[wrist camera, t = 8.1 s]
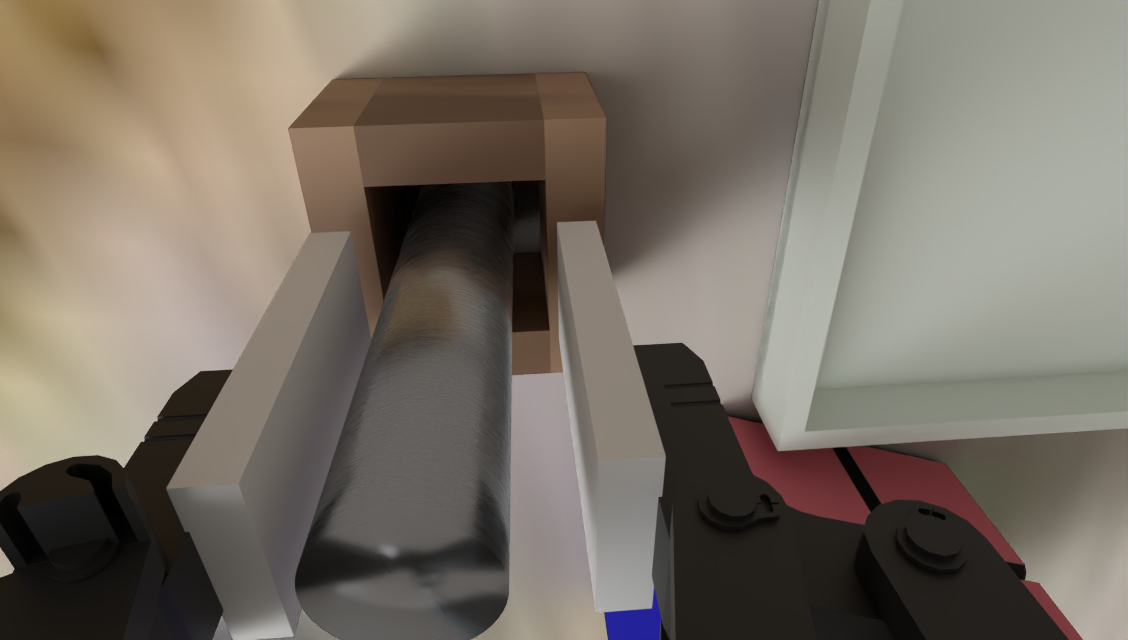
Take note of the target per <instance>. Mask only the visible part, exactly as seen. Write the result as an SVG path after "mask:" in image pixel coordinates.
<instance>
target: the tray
mask: <svg viewBox="0 0 1128 640" xmlns="http://www.w3.org/2000/svg"><path fill="white" fill-rule="evenodd" d="M751 399H752V401H753V403H754V405H755V407H756V409H757V411H758V413H759V415H760V417H761V419H762V421H763V423H764V425H765V427H766V429H767V431H768V433H769V435H770V437H771V439H772V441H773V443H774V445H775V447H776V449H777V451H788V450H804V449H819V448H834V447H850V446H865V445H880V444H896V443H911V442H926V441H942V440H957V439H973V438H988V437H1003V436H1019V435H1034V434H1049V433H1065V432H1080V431H1095V430H1111V429H1126V428H1128V0H819V3H818V9H817V15H816V21H815V26H814V32H813V38H812V44H811V50H810V56H809V62H808V68H807V74H806V80H805V85H804V91H803V97H802V103H801V109H800V115H799V121H798V127H797V133H796V138H795V144H794V150H793V156H792V162H791V168H790V174H789V180H788V186H787V191H786V197H785V203H784V209H783V215H782V221H781V227H780V233H779V239H778V244H777V250H776V256H775V262H774V268H773V274H772V280H771V286H770V292H769V298H768V303H767V309H766V315H765V321H764V327H763V333H762V339H761V345H760V351H759V356H758V362H757V368H756V374H755V380H754V386H753V392H752V398H751Z"/></svg>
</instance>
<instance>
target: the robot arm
mask: <svg viewBox="0 0 1128 640" xmlns="http://www.w3.org/2000/svg"><path fill="white" fill-rule="evenodd" d="M557 255H558V310H559V344H560V351H561V358H562V366H563V373H564V381H565V388H566V396H567V403H568V411H569V418H570V426H571V433H572V441H573V448H574V456H575V463H576V471H577V478H578V486H579V493H580V500H581V508H582V515H583V523H584V530H585V538H586V545H587V553H588V560H589V568H590V575H591V583H592V590H593V598H594V605H595V613H600V612H613V611H625V610H638V609H651V608H652V603H653V592H654V588H655V593H656V597H657V602H658V606H659V611H660V615H661V623H660V632H659V640H1069V639H1068V638H1067V637H1066V635H1065V634H1064V633H1063V632H1062V631H1061V629H1060V628H1059V627H1058V626H1057V624H1056V623H1055V622H1054V621H1053V619H1052V618H1051V617H1050V616H1049V615H1048V613H1047V612H1046V611H1045V610H1044V608H1043V607H1042V606H1041V605H1040V603H1039V602H1038V601H1037V600H1036V598H1035V597H1034V596H1033V595H1032V594H1031V592H1030V591H1029V590H1028V589H1027V587H1026V586H1025V585H1024V584H1023V582H1022V581H1021V580H1020V579H1019V577H1018V576H1017V575H1016V574H1015V573H1014V571H1013V570H1012V569H1011V568H1010V566H1009V565H1008V564H1007V563H1006V561H1005V560H1004V559H1003V558H1002V557H1001V555H1000V554H999V553H998V552H997V550H996V549H995V548H994V547H993V545H992V544H991V543H990V542H989V540H988V539H987V538H986V537H985V536H984V535H983V534H981V533H980V532H979V531H978V530H977V529H976V528H975V527H974V526H973V525H972V524H971V523H970V522H969V521H967V520H965V519H964V518H962V517H960V516H958V515H956V514H955V513H953V512H951V511H949V510H948V509H946V508H943V507H940V506H937V505H934V504H930V503H927V502H924V501H920V500H900V499H897V500H893V501H890V502H886V503H883V504H880V505H878V506H877V507H876V508H875V509H874V510H873V511H872V512H871V513H870V514H869V515H868V516H867V518H866V521H865V524H864V525H863V524H857V523H852V522H847V521H842V520H836V519H831V518H826V517H820V516H816V515H813V514H809V513H805V512H802V511H799V510H797V509H795V508H792V507H790V506H788V505H786V503H785V501H784V499H783V497H782V496H781V495H780V494H779V493H778V492H777V491H776V490H775V489H774V488H773V487H772V486H771V485H770V484H769V483H768V482H766V481H764V480H763V479H761V478H759V477H757V476H755V475H754V474H753V473H752V471H751V469H750V467H749V464H748V462H747V460H746V457H745V455H744V453H743V451H742V448H741V446H740V444H739V441H738V439H737V437H736V435H735V432H734V430H733V428H732V425H731V423H730V421H729V419H728V416H727V414H726V412H725V409H724V407H723V405H721V404H720V398H719V396H718V393H717V391H716V389H715V387H714V386H713V382H712V380H711V377H710V375H709V373H708V371H707V368H706V366H705V364H704V361H703V360H702V359H701V358H699V357H698V356H697V355H696V354H695V353H694V352H692V351H691V350H690V349H689V348H688V347H687V346H685V345H684V344H683V343H671V344H653V345H634V346H633V344H632V341H631V337H630V334H629V330H628V327H627V324H626V320H625V317H624V314H623V310H622V307H621V304H620V300H619V297H618V293H617V290H616V287H615V283H614V280H613V277H612V273H611V270H610V266H609V263H608V260H607V256H606V253H605V250H604V246H603V243H602V239H601V236H600V233H599V229H598V226H597V223H596V221H576V222H557ZM370 343H371V335H370V329H369V324H368V319H367V314H366V309H365V303H364V298H363V293H362V288H361V283H360V277H359V272H358V267H357V262H356V257H355V251H354V246H353V241H352V236H351V231H344V232H320V233H310V234H309V235H308V237H307V239H306V241H305V242H304V244H303V246H302V248H301V250H300V251H299V253H298V255H297V257H296V258H295V260H294V262H293V264H292V266H291V267H290V269H289V271H288V273H287V274H286V276H285V278H284V280H283V282H282V283H281V285H280V287H279V289H278V290H277V292H276V294H275V296H274V298H273V299H272V301H271V303H270V305H269V306H268V308H267V310H266V312H265V314H264V315H263V317H262V319H261V321H260V322H259V324H258V326H257V328H256V330H255V331H254V333H253V335H252V337H251V338H250V340H249V342H248V344H247V346H246V347H245V349H244V351H243V353H242V354H241V356H240V358H239V360H238V362H237V363H236V365H235V367H234V369H233V370H217V371H200V372H199V373H198V374H197V375H195V376H194V377H193V378H192V379H190V380H189V381H188V382H186V383H185V384H184V385H183V386H181V387H180V388H179V389H178V390H176V391H175V392H174V393H173V394H172V396H171V397H170V399H169V400H168V402H167V403H166V405H165V406H164V408H163V409H162V411H161V412H160V414H159V415H158V421H157V422H154V423H153V424H152V426H151V428H150V429H149V431H148V432H147V434H146V435H145V441H144V442H141V443H140V444H139V446H138V447H137V449H136V450H135V452H134V453H133V455H132V456H131V458H130V460H129V461H128V463H127V464H126V466H125V467H124V468H123V467H122V466H121V465H120V464H119V463H118V462H117V461H116V460H114V459H110V458H106V457H102V456H98V455H96V456H80V457H71V458H68V459H64V460H61V461H57V462H54V463H50V464H47V465H44V466H42V467H40V468H38V469H36V470H34V471H32V472H30V473H28V474H26V475H23V476H21V477H19V478H18V479H16V480H15V481H14V482H12V483H11V484H9V485H8V486H7V487H5V488H4V489H3V490H1V491H0V547H1V549H2V550H3V552H4V553H5V555H6V556H7V558H8V559H9V561H10V562H11V564H12V565H13V567H14V568H15V569H14V571H13V573H12V574H9V575H7V576H4V577H1V578H0V640H212V639H213V636H214V634H215V631H216V629H217V626H218V623H219V621H220V618H221V616H223V618H224V621H225V623H226V625H227V627H228V630H229V632H230V634H231V636H232V639H233V640H257V639H270V638H283V637H294V635H295V631H296V628H297V624H298V620H299V617H300V613H301V610H302V607H301V605H300V603H299V601H298V599H297V596H296V591H295V575H296V570H297V567H298V564H299V561H300V558H301V555H302V552H303V548H304V545H305V542H306V539H307V536H308V533H309V530H310V527H311V524H312V521H313V518H314V515H315V512H316V509H317V505H318V502H319V499H320V496H321V493H322V490H323V487H324V484H325V481H326V478H327V475H328V472H329V469H330V465H331V462H332V459H333V456H334V453H335V450H336V447H337V444H338V441H339V438H340V435H341V432H342V429H343V426H344V422H345V419H346V416H347V413H348V410H349V407H350V404H351V401H352V398H353V395H354V392H355V389H356V386H357V382H358V379H359V376H360V373H361V370H362V367H363V364H364V361H365V358H366V355H367V352H368V349H369V346H370Z"/></svg>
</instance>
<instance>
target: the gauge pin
mask: <svg viewBox="0 0 1128 640" xmlns="http://www.w3.org/2000/svg"><path fill="white" fill-rule="evenodd" d="M513 226H514V190H513V185H512V182H511V181H502V182H477V183H451V184H426V185H422V186H421V189H420V192H419V195H418V198H417V201H416V204H415V207H414V210H413V213H412V217H411V220H410V223H409V226H408V229H407V232H406V235H405V238H404V241H403V244H402V247H401V250H400V253H399V256H398V260H397V263H396V266H395V269H394V272H393V275H392V278H391V281H390V284H389V287H388V290H387V293H386V296H385V300H384V303H383V306H382V309H381V312H380V315H379V318H378V321H377V324H376V327H375V330H374V333H373V336H372V339H371V343H370V346H369V349H368V352H367V355H366V358H365V361H364V364H363V367H362V370H361V373H360V376H359V379H358V382H357V386H356V389H355V392H354V395H353V398H352V401H351V404H350V407H349V410H348V413H347V416H346V419H345V422H344V426H343V429H342V432H341V435H340V438H339V441H338V444H337V447H336V450H335V453H334V456H333V459H332V462H331V465H330V469H329V472H328V475H327V478H326V481H325V484H324V487H323V490H322V493H321V496H320V499H319V502H318V505H317V509H316V512H315V515H314V518H313V521H312V524H311V527H310V530H309V533H308V536H307V539H306V542H305V545H304V548H303V552H302V555H301V558H300V561H299V564H298V567H297V570H296V575H295V591H296V596H297V599H298V601H299V603H300V605H301V607H302V608H303V610H304V611H305V613H306V614H307V615H308V616H309V617H310V619H311V620H312V621H313V622H314V623H316V624H317V625H318V626H319V627H320V628H322V629H323V630H325V631H326V632H328V633H329V634H331V635H333V636H335V637H337V638H339V639H341V640H471V639H473V638H475V637H476V636H478V635H479V634H481V633H483V632H484V631H485V630H487V629H488V628H489V627H490V626H491V625H492V624H493V623H494V622H495V621H496V620H497V619H498V618H499V616H500V615H501V613H502V612H503V610H504V608H505V606H506V604H507V600H508V595H509V540H510V461H511V383H512V304H513Z"/></svg>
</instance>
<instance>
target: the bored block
mask: <svg viewBox="0 0 1128 640" xmlns="http://www.w3.org/2000/svg"><path fill="white" fill-rule="evenodd" d="M288 131H289V135H290V139H291V144H292V148H293V153H294V157H295V162H296V166H297V171H298V175H299V179H300V184H301V188H302V193H303V197H304V202H305V206H306V210H307V215H308V219H309V224H310V228H311V233H320V232H344V231H351V236H352V241H353V246H354V251H355V257H356V262H357V267H358V272H359V277H360V283H361V288H362V293H363V298H364V303H365V309H366V314H367V319H368V324H369V329H370V335H371V339H372V336H373V333H374V330H375V327H376V324H377V321H378V318H379V315H380V312H381V309H382V306H383V303H384V300H385V296H386V293H387V290H388V287H389V284H390V281H391V278H392V275H393V272H394V269H395V266H396V263H397V260H398V256H399V253H400V250H401V247H402V244H403V241H404V238H405V235H406V228H405V221H404V214H403V208H402V201H401V194H400V187H399V186H400V185H426V184H451V183H477V182H502V181H528V180H538V183H539V214H540V245H541V253H530V254H513V304H512V375H523V374H541V373H558V372H563V366H562V358H561V351H560V344H559V310H558V255H557V222H576V221H596V223H597V226H598V229H599V233H600V236H601V239H602V243H603V246H604V204H605V157H606V116H605V114H604V112H603V110H602V108H601V106H600V103H599V101H598V99H597V97H596V95H595V93H594V91H593V89H592V87H591V85H590V83H589V81H588V78H587V76H586V74H585V72H574V73H541V74H507V75H473V76H439V77H405V78H371V79H337V80H332V81H331V82H330V83H329V84H328V85H327V86H326V87H325V88H324V89H323V90H322V92H321V93H320V94H319V95H318V96H317V97H316V98H315V99H314V100H313V101H312V103H311V104H310V105H309V106H308V107H307V108H306V109H305V110H304V111H303V112H302V114H301V115H300V116H299V117H298V118H297V119H296V120H295V121H294V122H293V123H292V125H291V126H290V127H289V128H288Z"/></svg>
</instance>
